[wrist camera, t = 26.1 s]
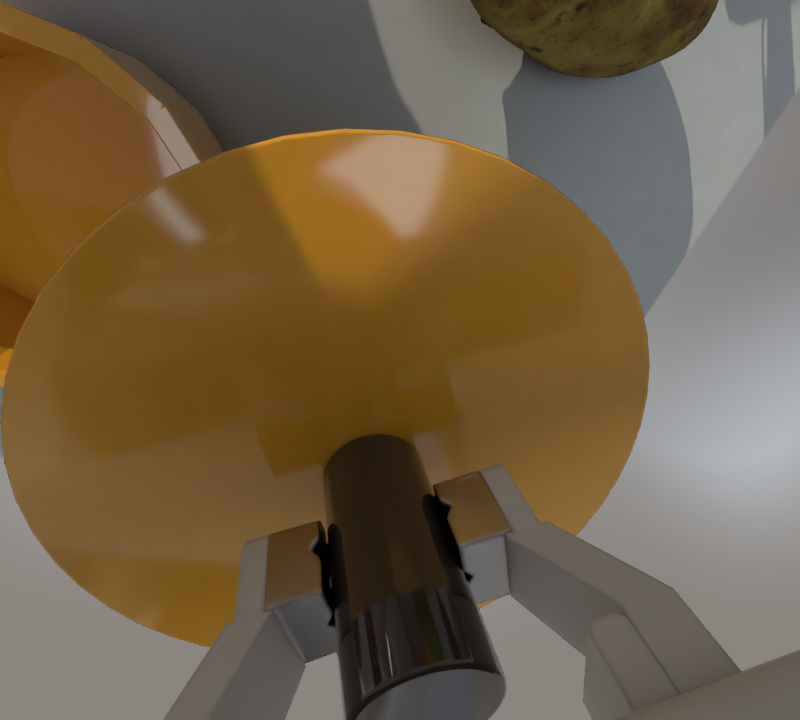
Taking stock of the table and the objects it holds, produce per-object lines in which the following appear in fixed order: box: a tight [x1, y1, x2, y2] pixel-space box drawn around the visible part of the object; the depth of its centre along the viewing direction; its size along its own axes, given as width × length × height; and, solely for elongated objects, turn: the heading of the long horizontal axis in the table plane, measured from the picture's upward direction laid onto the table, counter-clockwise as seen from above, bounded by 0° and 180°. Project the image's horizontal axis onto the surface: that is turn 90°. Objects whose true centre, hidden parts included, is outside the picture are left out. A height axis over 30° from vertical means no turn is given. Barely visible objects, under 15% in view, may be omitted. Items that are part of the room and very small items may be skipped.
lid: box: [0, 128, 650, 720], centre depth 9 cm, size 15×15×6 cm
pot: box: [0, 2, 224, 388], centre depth 19 cm, size 14×14×6 cm
